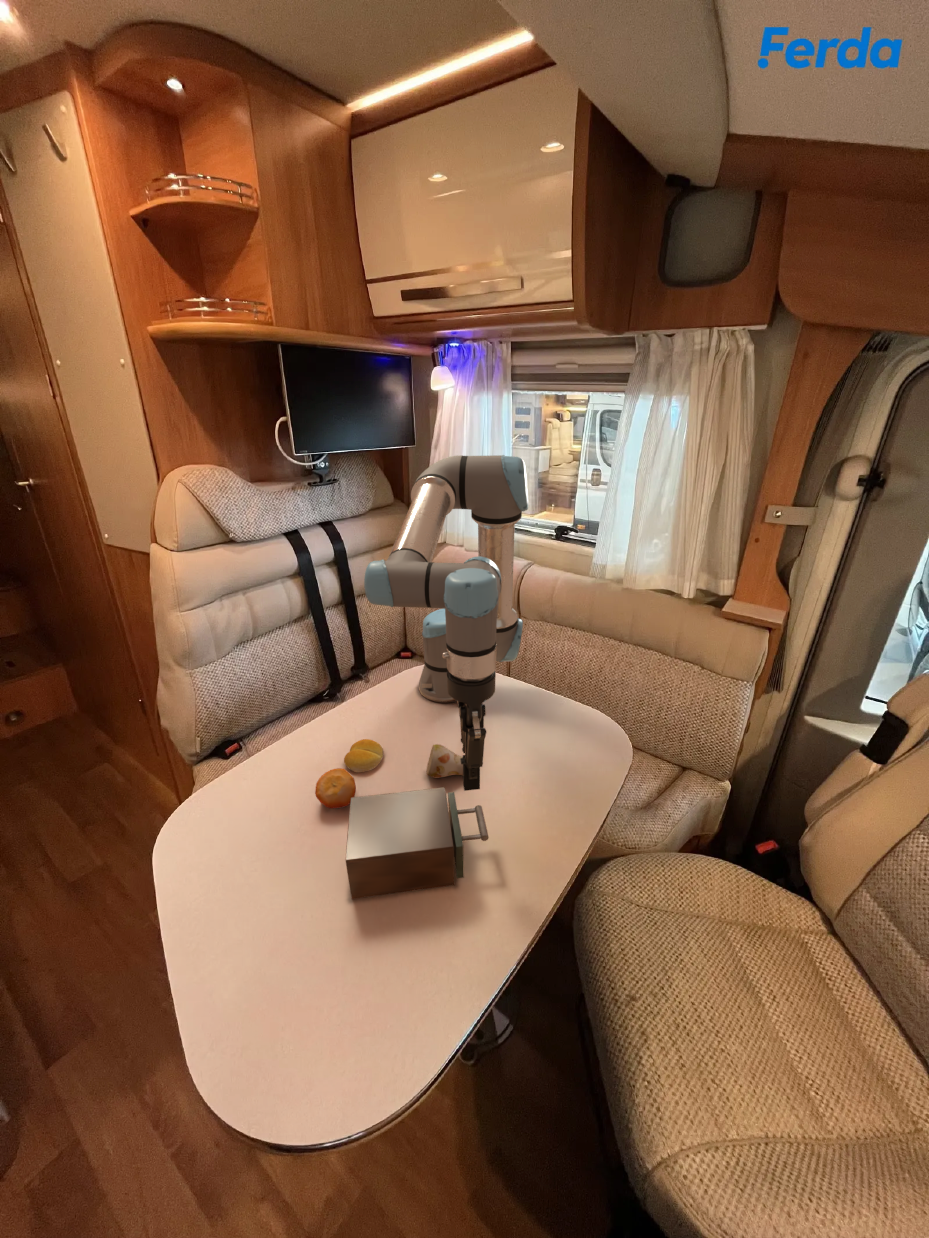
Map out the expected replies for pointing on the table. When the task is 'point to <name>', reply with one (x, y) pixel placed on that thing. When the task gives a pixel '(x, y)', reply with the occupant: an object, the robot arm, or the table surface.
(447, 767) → the spotted paper cup
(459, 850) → the drawer
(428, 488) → the robot arm
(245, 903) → the table surface
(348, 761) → the bread roll
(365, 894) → the cabinet
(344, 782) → the fruit
